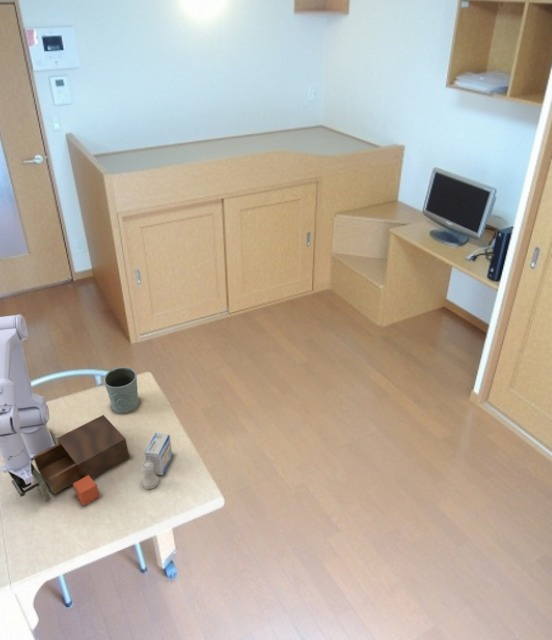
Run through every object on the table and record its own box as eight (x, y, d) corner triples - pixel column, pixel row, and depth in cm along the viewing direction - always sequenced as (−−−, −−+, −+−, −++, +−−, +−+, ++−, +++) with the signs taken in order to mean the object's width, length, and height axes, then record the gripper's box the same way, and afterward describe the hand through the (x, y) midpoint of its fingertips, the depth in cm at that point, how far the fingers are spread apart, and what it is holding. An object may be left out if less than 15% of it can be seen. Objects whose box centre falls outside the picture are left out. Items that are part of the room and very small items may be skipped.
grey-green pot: (127, 391, 180) (122, 363, 173) (148, 402, 175) (143, 374, 168) (103, 407, 173) (96, 378, 166) (124, 420, 168) (118, 391, 161)
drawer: (28, 511, 138) (22, 495, 134) (11, 484, 145) (4, 468, 142) (93, 474, 148) (89, 459, 145) (74, 450, 156) (70, 435, 152)
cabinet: (83, 484, 146) (77, 464, 142) (62, 457, 154) (56, 438, 150) (129, 458, 154) (125, 438, 150) (107, 433, 163) (103, 414, 158)
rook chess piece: (161, 479, 148) (158, 459, 143) (153, 491, 144) (150, 471, 140) (147, 475, 149) (144, 455, 145) (139, 487, 145) (135, 467, 141)
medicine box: (162, 476, 149) (159, 454, 144) (148, 473, 149) (144, 452, 145) (173, 455, 155) (169, 434, 151) (158, 453, 156) (155, 431, 151)
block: (83, 505, 140) (80, 493, 138) (76, 495, 143) (72, 483, 140) (99, 496, 143) (96, 484, 140) (91, 486, 146) (88, 474, 143)
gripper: (-13, 441, 136) (1, 477, 144) (7, 474, 127) (21, 510, 135) (14, 428, 140) (27, 464, 148) (36, 459, 131) (48, 495, 139)
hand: (26, 485), depth 141 cm, fingers closed, pressing on drawer
